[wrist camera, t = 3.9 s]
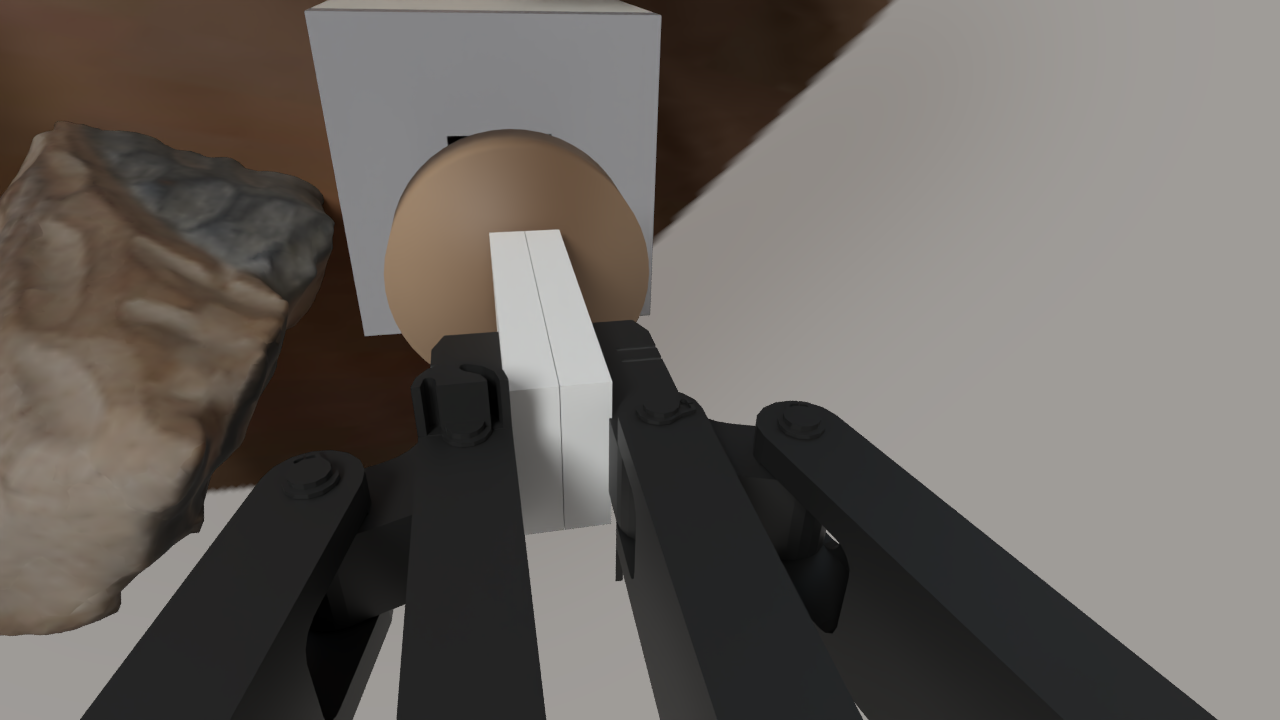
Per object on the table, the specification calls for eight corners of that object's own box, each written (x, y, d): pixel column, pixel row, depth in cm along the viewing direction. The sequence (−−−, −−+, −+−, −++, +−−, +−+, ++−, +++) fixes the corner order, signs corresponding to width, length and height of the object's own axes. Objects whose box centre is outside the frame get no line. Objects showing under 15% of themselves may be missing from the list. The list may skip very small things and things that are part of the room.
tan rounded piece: (413, 217, 31) (381, 427, 18) (389, 35, 27) (325, 123, 14) (579, 210, 32) (666, 398, 19) (577, 36, 29) (681, 116, 15)
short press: (396, 201, 37) (364, 336, 24) (364, -16, 32) (304, 11, 19) (587, 194, 39) (650, 315, 26) (585, -12, 34) (661, 15, 21)
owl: (353, 180, 36) (263, 388, 19) (321, 389, 41) (229, 696, 25) (52, 107, 32) (-403, 292, 15) (59, 350, 37) (-271, 690, 20)
